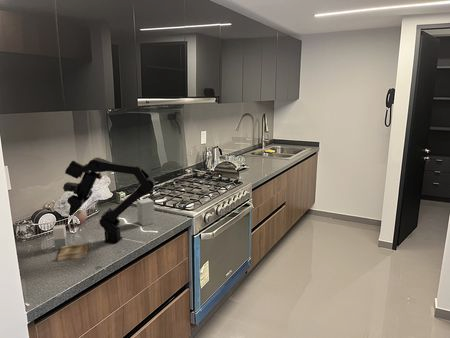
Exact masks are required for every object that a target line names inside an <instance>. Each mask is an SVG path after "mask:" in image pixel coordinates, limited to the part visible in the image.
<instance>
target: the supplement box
mask: <svg viewBox="0 0 450 338" xmlns="http://www.w3.org/2000/svg"><path fill="white" fill-rule="evenodd" d="M136 210H137V222H138V223H139V225H141V226H142V227H144V226H149V225H152V224H156V216H155V201H154V200H152V199H151V198H149V197H147V198H141V199H137V200H136Z"/></svg>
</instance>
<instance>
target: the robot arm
mask: <svg viewBox="0 0 450 338" xmlns="http://www.w3.org/2000/svg"><path fill="white" fill-rule="evenodd" d="M102 172H103V173H104V172H112V173H121V174H129V175H134V176H135V178H136V180H137V181H138V183H139V185H138V187H136V189H135V190H133V191H132V193H130V194H129V195H128V196H127V197H126V198H124V199H123V200H122V201H121V202H120V203H119V204H118V205H116V206H115V207H114V208H111V207H108V209H107V210H106V211H104V212H103V213H102V214H101V215H100V219H99V225H100V227H101V228H103V230H104V241H103V242H104V243H106V244H117V243H118V242H120V241H121V240H123V238H124V237H123V236H121V227H119V226H120V223H121V221H120V220H119V219H118V218H119V216H120V215H121V214H123V212H125V211H126V210H127V209H128V208H129V207H130V206H132V205H133V204H134V203H136V202H137V200H139V198H141V197H143V196H145V195H147V194H148V193H150V192H152V191H153V190H154V188H155V185H156V181H155V179H154V177H152V176H150V175H149V174H148V173H147V172H146V171H145V170H144V169H143V168H142V167H141V165H138V164H137V165H134V164H126V163H120V162H119V163H118V162H113V161H108V160H107V159H104V158H102V157H94V158H93V159H91V160H90V161H89V162H88V163H85V164H84V165H83V164H82V163H78V162H77V161H76V160H71V161H70V163H69V165H68V167H67V166H66V169H65V173H64V174H65V175H68V176H70V177H72V178H75V179H77V180H78V179H81V180H80V181H79V183H78V182H72V181H71V182H69V181H67V182H65V183H63V187H62V189H63V191H64V192H69V193H70V192H73V194H72V195H69V197H68V198H67V201H66V202H67V203H68V204H69V211H68V216H69V215H70V216H71V215H73V214H74V213H75V212H76V211H77V210H78V209H81V207H83V205H84V204H85V202H87V201H88V200H89V199H90V198H91V196H92V195H93V190H92V189H93V188H94V184H95V182H96V181H97V179H98V180H101V179H103V175H102Z"/></svg>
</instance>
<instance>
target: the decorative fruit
mask: <svg viewBox="0 0 450 338" xmlns="http://www.w3.org/2000/svg"><path fill="white" fill-rule="evenodd" d="M74 216H76V217H77V218H78V219H79V221H80V225H81V224H83V223H84V222H85V221H86V220H87V217H88V213H87V212H86V210H85V209H83V210H78V211H77V212H76V213H75V214H74Z"/></svg>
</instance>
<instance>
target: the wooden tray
mask: <svg viewBox="0 0 450 338" xmlns="http://www.w3.org/2000/svg"><path fill="white" fill-rule="evenodd" d="M88 249H89V243H82V244H72V245H67V246H63V247H61V249H60V252H59V253H58V255H57V261H58V262H59V261H68V260H75V259H81V258H83V259H84V258H86V257H87V253H88Z"/></svg>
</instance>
